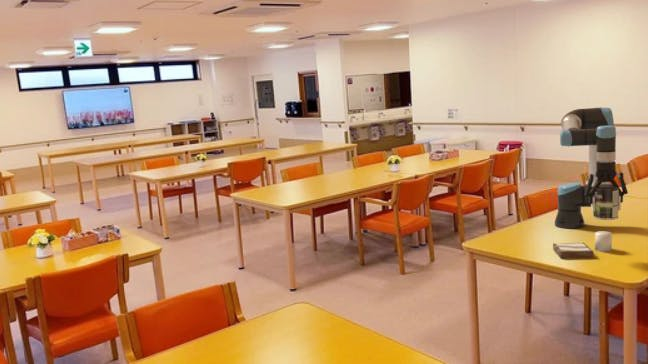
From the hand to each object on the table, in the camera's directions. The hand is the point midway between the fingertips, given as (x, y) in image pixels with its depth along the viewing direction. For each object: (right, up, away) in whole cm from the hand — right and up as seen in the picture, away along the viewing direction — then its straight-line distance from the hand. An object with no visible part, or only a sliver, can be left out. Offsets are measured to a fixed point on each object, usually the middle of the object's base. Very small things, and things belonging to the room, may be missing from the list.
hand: (605, 210), depth 245 cm
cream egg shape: (+6, -19, +13) cm, 24 cm away
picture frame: (-10, -21, +11) cm, 26 cm away
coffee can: (0, -3, +1) cm, 3 cm away
